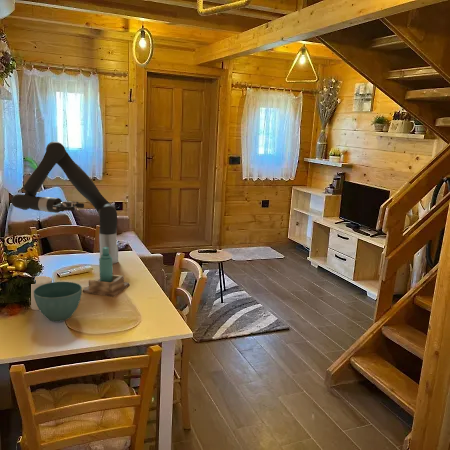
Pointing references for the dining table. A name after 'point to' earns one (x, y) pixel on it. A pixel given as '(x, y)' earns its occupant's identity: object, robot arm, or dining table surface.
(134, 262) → the dining table surface
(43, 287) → the teal bowl
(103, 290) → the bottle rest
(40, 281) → the candle holder
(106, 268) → the bottle
